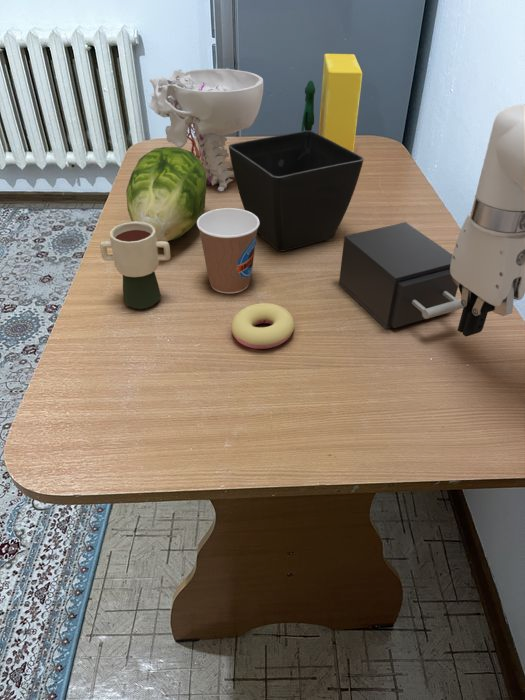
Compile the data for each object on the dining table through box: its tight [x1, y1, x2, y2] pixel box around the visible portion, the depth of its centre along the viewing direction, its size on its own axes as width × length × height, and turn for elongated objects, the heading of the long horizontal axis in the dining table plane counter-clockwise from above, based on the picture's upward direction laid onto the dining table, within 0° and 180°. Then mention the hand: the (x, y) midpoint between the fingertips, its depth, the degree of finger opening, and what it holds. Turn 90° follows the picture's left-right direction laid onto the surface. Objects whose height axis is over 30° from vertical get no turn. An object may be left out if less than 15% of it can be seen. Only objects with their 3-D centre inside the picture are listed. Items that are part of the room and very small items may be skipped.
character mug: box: [99, 221, 171, 309], centre depth 92 cm, size 11×7×13 cm, turn 92°
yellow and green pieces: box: [300, 53, 363, 152], centre depth 136 cm, size 18×12×24 cm
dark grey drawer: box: [390, 269, 464, 329], centre depth 92 cm, size 18×11×8 cm, turn 25°
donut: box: [231, 302, 295, 350], centre depth 88 cm, size 10×5×9 cm
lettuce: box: [125, 146, 208, 242], centre depth 110 cm, size 15×27×16 cm, turn 177°
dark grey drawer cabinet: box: [338, 222, 453, 330], centre depth 95 cm, size 15×13×10 cm
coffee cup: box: [196, 207, 260, 295], centre depth 96 cm, size 10×10×12 cm
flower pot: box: [228, 130, 365, 252], centre depth 110 cm, size 19×19×17 cm
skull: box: [149, 68, 264, 192], centre depth 127 cm, size 25×19×23 cm
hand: (469, 331), depth 82 cm, fingers closed
